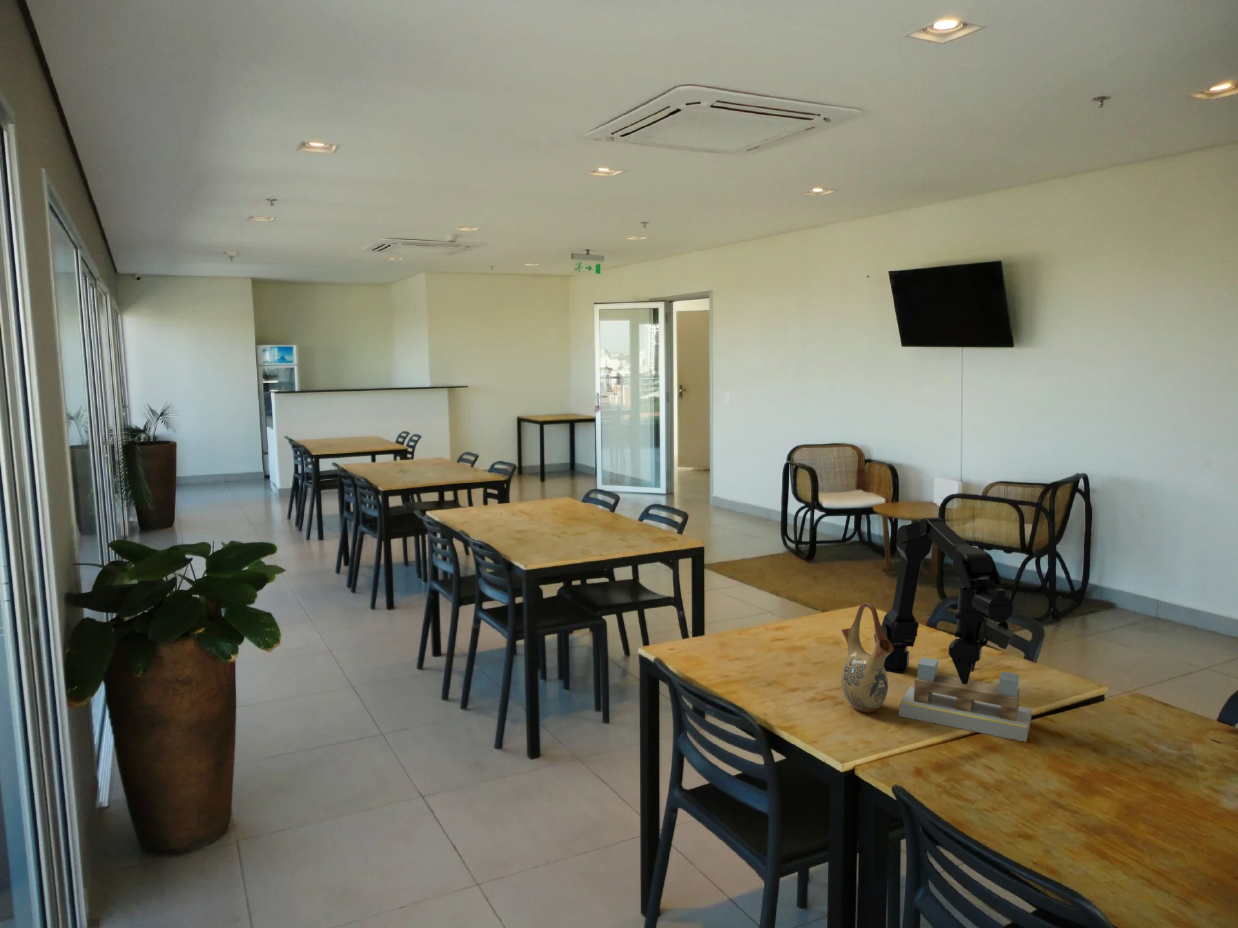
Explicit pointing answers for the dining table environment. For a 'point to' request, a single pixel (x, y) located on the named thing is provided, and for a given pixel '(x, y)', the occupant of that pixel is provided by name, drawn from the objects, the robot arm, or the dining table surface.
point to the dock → (966, 716)
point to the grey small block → (927, 669)
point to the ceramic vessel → (865, 666)
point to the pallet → (967, 694)
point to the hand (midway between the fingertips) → (967, 677)
